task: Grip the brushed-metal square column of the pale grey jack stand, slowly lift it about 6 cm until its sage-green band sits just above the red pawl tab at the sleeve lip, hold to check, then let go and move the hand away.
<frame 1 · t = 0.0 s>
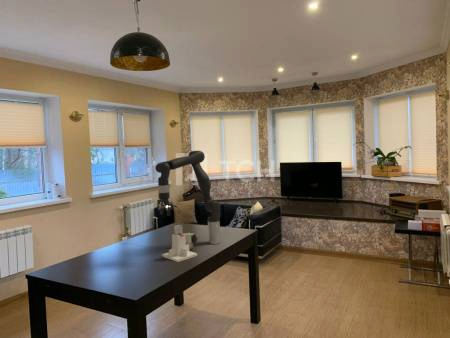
hand: (165, 215, 230), 29 cm above the table, tool pointing down, fingers open, 8 cm apart
column: (178, 239, 231), point 12 cm above the table, slide at 0.0 cm
stand base: (179, 256, 232), on the table
pneumatic valve: (190, 248, 250), on the table
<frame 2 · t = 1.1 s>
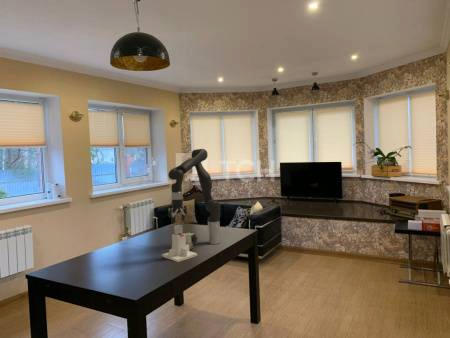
hand: (178, 221, 231), 24 cm above the table, tool pointing down, fingers open, 8 cm apart
nothing on the table moved.
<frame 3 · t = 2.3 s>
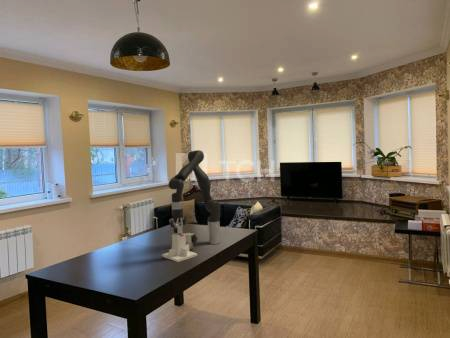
hand: (178, 232, 231), 17 cm above the table, tool pointing down, fingers closed on column, 4 cm apart
column: (178, 239, 231), point 12 cm above the table, slide at 0.0 cm, touching gripper
everything else where it was.
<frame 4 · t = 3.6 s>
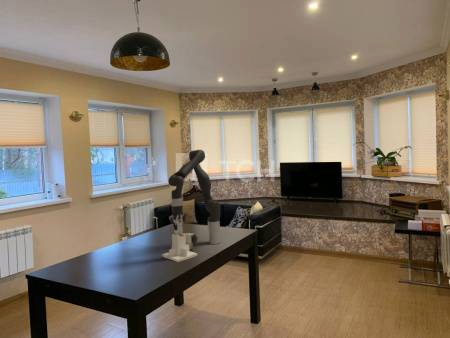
hand: (178, 229, 231), 19 cm above the table, tool pointing down, fingers closed on column, 4 cm apart
column: (178, 236, 231), point 14 cm above the table, slide at 2.2 cm, touching gripper
everything else where it was.
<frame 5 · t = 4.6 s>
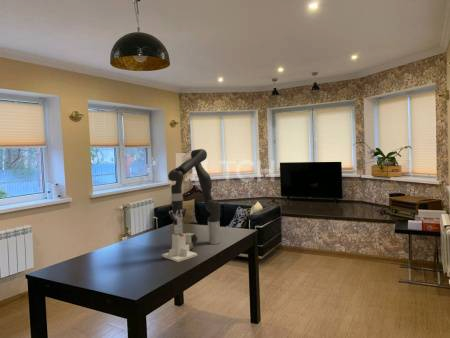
hand: (178, 224, 231), 23 cm above the table, tool pointing down, fingers closed on column, 4 cm apart
column: (178, 231, 231), point 18 cm above the table, slide at 5.8 cm, touching gripper
everything else where it was.
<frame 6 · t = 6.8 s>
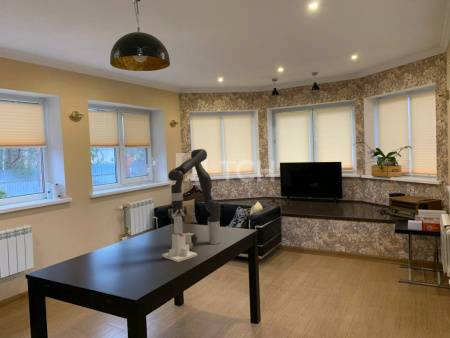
hand: (178, 222, 231), 24 cm above the table, tool pointing down, fingers open, 8 cm apart
column: (178, 231, 231), point 18 cm above the table, slide at 6.0 cm
everything else where it was.
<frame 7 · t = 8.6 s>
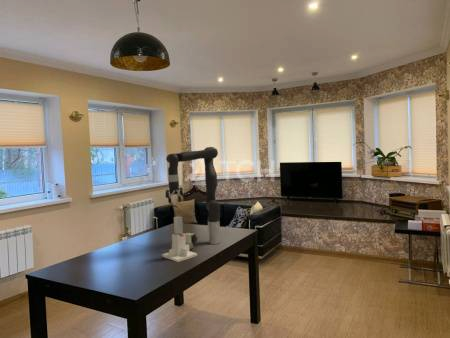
hand: (174, 202, 247), 35 cm above the table, tool pointing down, fingers open, 8 cm apart
nothing on the table moved.
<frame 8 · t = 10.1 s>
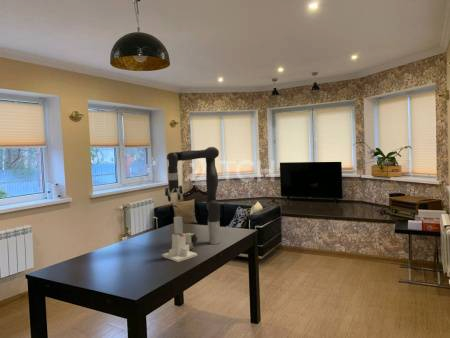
hand: (174, 200, 250), 36 cm above the table, tool pointing down, fingers open, 8 cm apart
nothing on the table moved.
at the end: column slide at 6.0 cm; the gripper is holding nothing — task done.
